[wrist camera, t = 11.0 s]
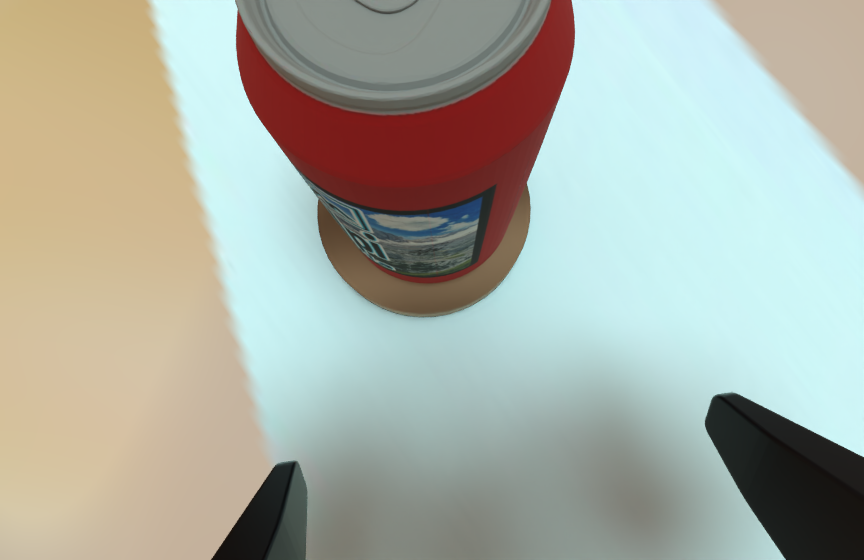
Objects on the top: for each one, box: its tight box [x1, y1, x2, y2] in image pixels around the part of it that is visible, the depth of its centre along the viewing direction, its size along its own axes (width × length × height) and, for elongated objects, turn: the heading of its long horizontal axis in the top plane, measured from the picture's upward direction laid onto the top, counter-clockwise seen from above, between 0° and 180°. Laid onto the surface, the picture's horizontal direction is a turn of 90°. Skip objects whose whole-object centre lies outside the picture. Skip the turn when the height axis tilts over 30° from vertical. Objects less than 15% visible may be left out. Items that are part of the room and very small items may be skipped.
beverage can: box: [235, 0, 575, 283], centre depth 13 cm, size 7×7×12 cm
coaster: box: [318, 183, 530, 317], centre depth 20 cm, size 9×9×2 cm
